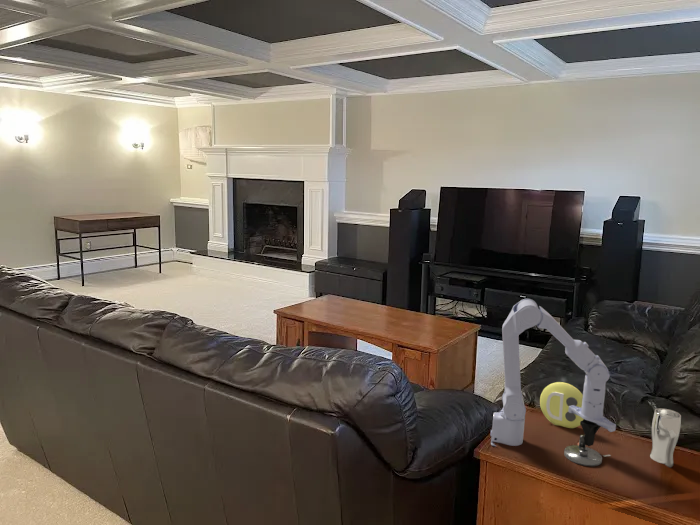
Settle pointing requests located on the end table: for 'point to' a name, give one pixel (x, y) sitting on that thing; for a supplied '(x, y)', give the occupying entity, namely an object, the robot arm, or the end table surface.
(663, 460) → the beer glass
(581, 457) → the cam dial
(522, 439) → the robot arm
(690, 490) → the end table surface
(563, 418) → the emoji
